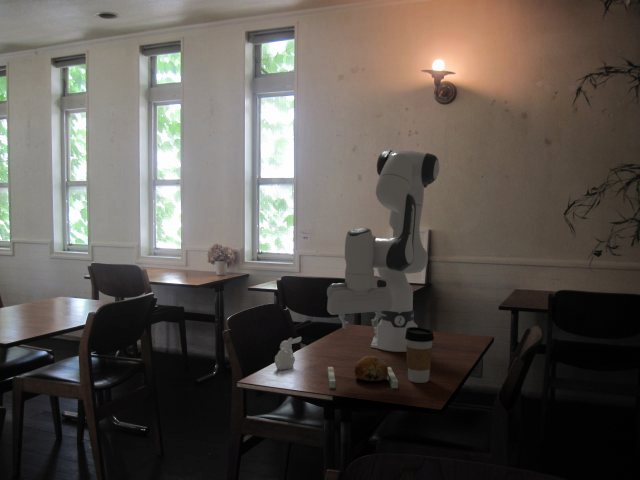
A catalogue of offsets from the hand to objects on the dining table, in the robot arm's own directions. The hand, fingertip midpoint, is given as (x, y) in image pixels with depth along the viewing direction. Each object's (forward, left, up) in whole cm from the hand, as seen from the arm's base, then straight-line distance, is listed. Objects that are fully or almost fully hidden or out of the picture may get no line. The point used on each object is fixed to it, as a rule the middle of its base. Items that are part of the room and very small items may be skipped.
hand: (360, 326), depth 176 cm
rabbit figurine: (-5, -22, -14) cm, 27 cm away
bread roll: (+9, +2, -15) cm, 17 cm away
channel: (+9, 0, -14) cm, 16 cm away
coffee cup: (+7, +17, -14) cm, 23 cm away
